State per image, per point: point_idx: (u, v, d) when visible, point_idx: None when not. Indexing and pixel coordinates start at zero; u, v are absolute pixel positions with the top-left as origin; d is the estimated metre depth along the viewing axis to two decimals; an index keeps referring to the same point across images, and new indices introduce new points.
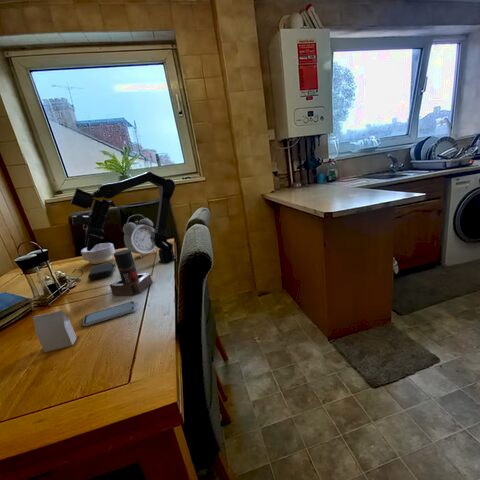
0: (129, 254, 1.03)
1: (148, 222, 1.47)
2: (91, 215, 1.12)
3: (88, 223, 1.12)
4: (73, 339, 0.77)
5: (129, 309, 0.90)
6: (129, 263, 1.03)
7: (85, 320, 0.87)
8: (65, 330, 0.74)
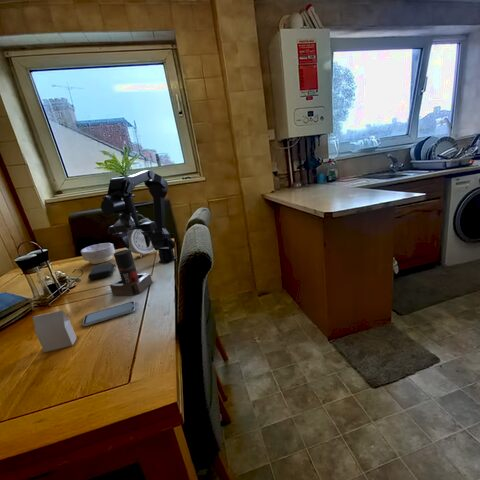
0: (129, 254, 1.03)
1: None
2: (130, 215, 1.08)
3: (133, 223, 1.09)
4: (73, 339, 0.77)
5: (129, 309, 0.90)
6: (129, 263, 1.03)
7: (85, 320, 0.87)
8: (66, 330, 0.74)
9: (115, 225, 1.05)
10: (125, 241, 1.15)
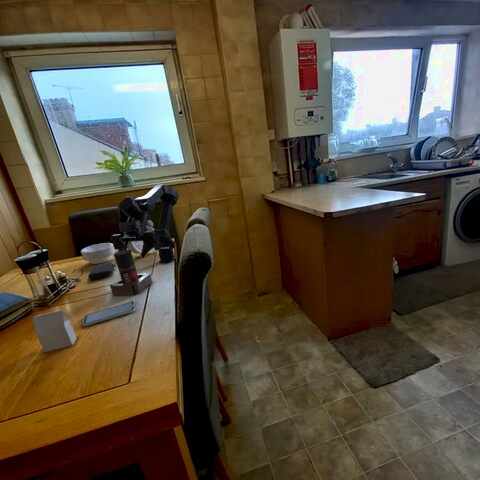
0: (129, 254, 1.03)
1: (148, 222, 1.47)
2: (140, 223, 1.12)
3: (139, 230, 1.10)
4: (73, 339, 0.77)
5: (129, 309, 0.90)
6: (129, 263, 1.03)
7: (85, 320, 0.87)
8: (65, 330, 0.74)
9: None
10: None
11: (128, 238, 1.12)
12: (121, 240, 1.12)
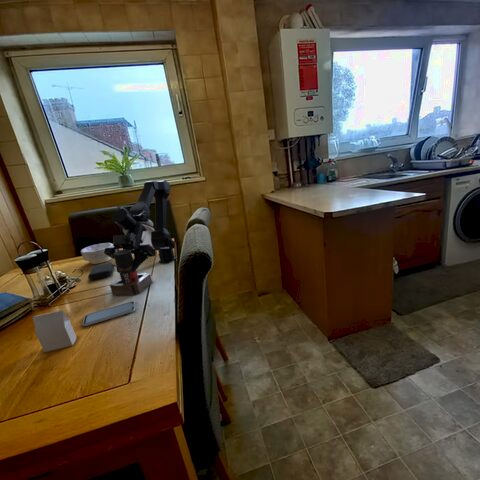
0: (129, 254, 1.03)
1: (148, 222, 1.47)
2: (134, 235, 1.08)
3: (133, 243, 1.06)
4: (73, 339, 0.77)
5: (129, 309, 0.90)
6: (128, 263, 1.03)
7: (85, 320, 0.87)
8: (66, 330, 0.74)
9: None
10: None
11: None
12: None
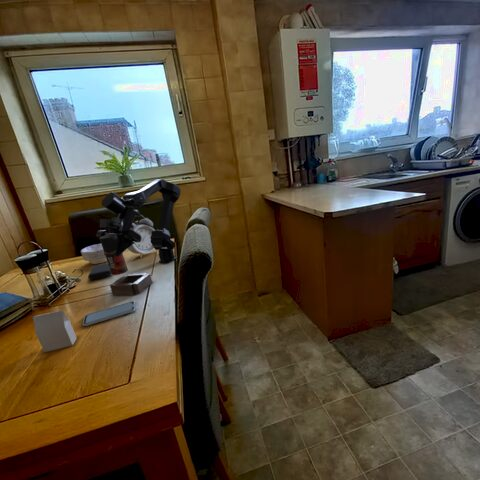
0: (113, 238, 1.05)
1: (148, 222, 1.47)
2: (123, 220, 1.09)
3: (120, 228, 1.08)
4: (73, 339, 0.77)
5: (129, 309, 0.90)
6: (112, 247, 1.05)
7: (85, 320, 0.87)
8: (65, 330, 0.74)
9: None
10: None
11: None
12: None
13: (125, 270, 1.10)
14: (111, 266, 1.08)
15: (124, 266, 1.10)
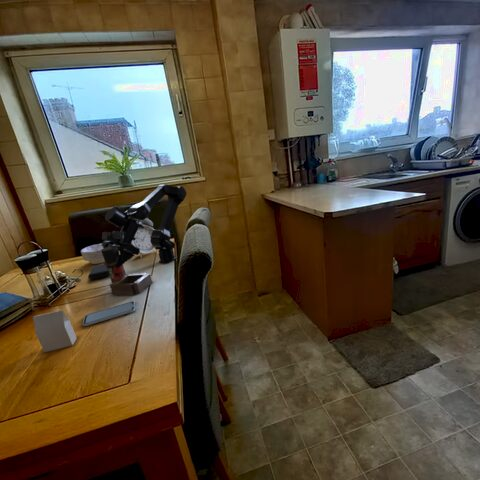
0: (113, 251, 1.10)
1: (148, 222, 1.47)
2: (124, 233, 1.14)
3: (121, 240, 1.12)
4: (73, 339, 0.77)
5: (129, 309, 0.90)
6: (112, 259, 1.10)
7: (85, 320, 0.87)
8: (65, 330, 0.74)
9: (105, 232, 1.11)
10: None
11: None
12: None
13: None
14: (111, 276, 1.13)
15: None
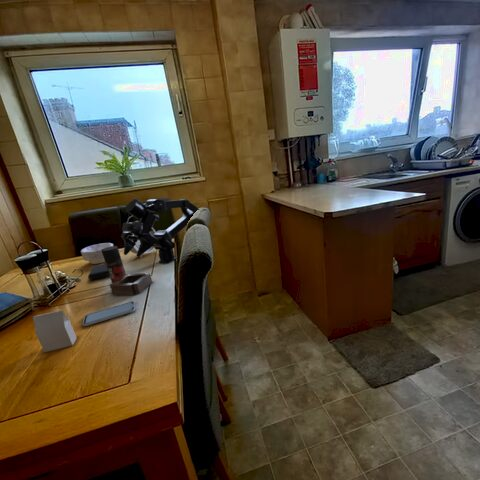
0: (113, 251, 1.10)
1: None
2: (143, 224, 1.21)
3: (140, 231, 1.19)
4: (73, 339, 0.77)
5: (129, 309, 0.90)
6: (112, 259, 1.10)
7: (85, 320, 0.87)
8: (65, 330, 0.74)
9: (125, 223, 1.18)
10: (127, 247, 1.23)
11: (133, 236, 1.23)
12: (129, 237, 1.24)
13: None
14: (111, 276, 1.13)
15: None
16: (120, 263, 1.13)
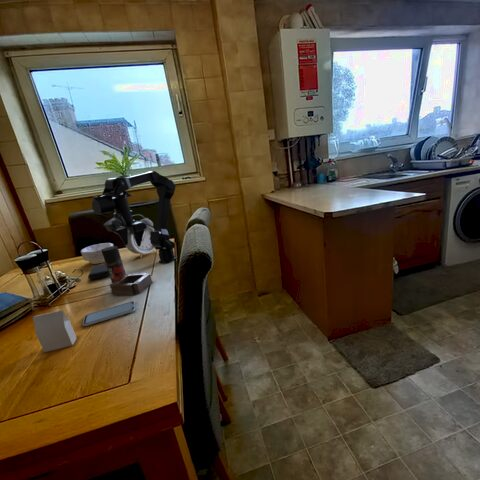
0: (113, 251, 1.10)
1: (148, 222, 1.47)
2: (121, 214, 1.12)
3: (123, 223, 1.13)
4: (73, 339, 0.77)
5: (129, 309, 0.90)
6: (112, 259, 1.10)
7: (85, 320, 0.87)
8: (65, 330, 0.74)
9: (105, 223, 1.11)
10: (123, 238, 1.21)
11: (121, 226, 1.17)
12: (118, 227, 1.19)
13: None
14: (111, 276, 1.13)
15: None
16: (120, 263, 1.13)
